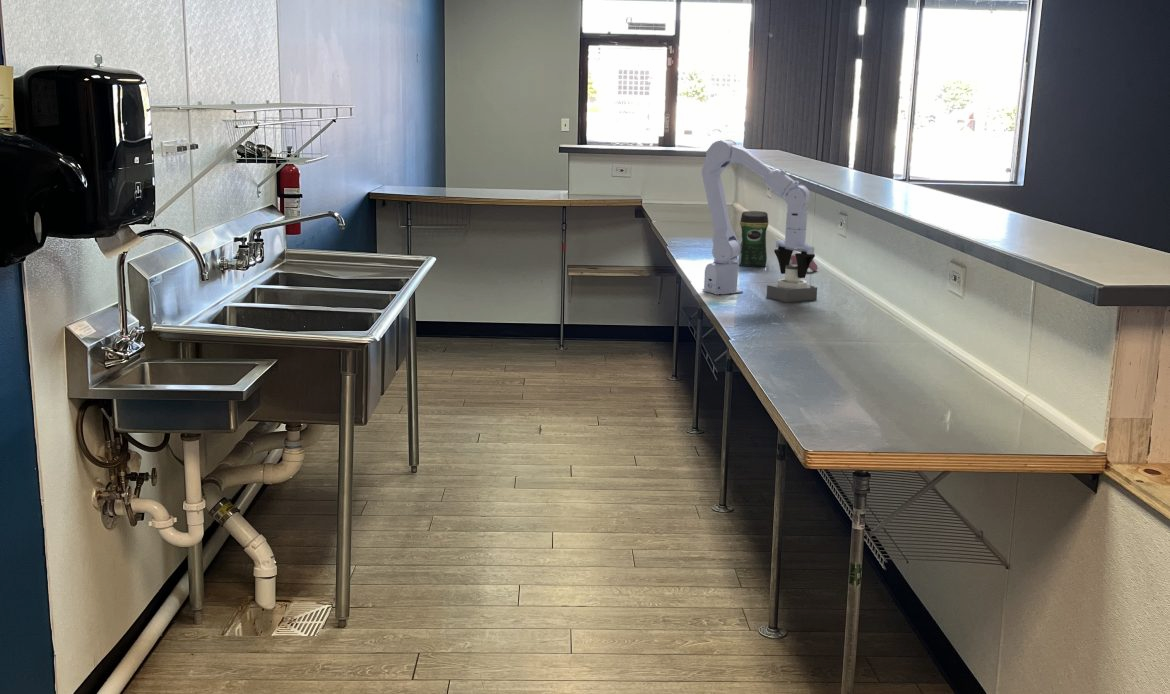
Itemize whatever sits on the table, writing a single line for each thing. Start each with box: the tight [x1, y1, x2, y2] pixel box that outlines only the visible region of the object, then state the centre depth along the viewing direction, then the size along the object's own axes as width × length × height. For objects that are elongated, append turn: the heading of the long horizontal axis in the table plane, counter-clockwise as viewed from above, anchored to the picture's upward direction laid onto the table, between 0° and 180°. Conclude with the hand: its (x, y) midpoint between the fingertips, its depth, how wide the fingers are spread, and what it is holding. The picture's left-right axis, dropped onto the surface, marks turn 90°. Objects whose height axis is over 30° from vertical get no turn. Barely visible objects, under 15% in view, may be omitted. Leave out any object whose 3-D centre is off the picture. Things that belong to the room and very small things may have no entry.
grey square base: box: [766, 278, 818, 303], centre depth 298 cm, size 11×9×5 cm
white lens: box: [784, 264, 802, 283], centre depth 297 cm, size 4×4×6 cm
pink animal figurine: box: [789, 253, 818, 272], centre depth 345 cm, size 10×5×7 cm, turn 46°
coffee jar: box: [738, 210, 769, 268], centre depth 353 cm, size 10×8×19 cm
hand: (792, 275), depth 297 cm, fingers open, 7 cm apart
